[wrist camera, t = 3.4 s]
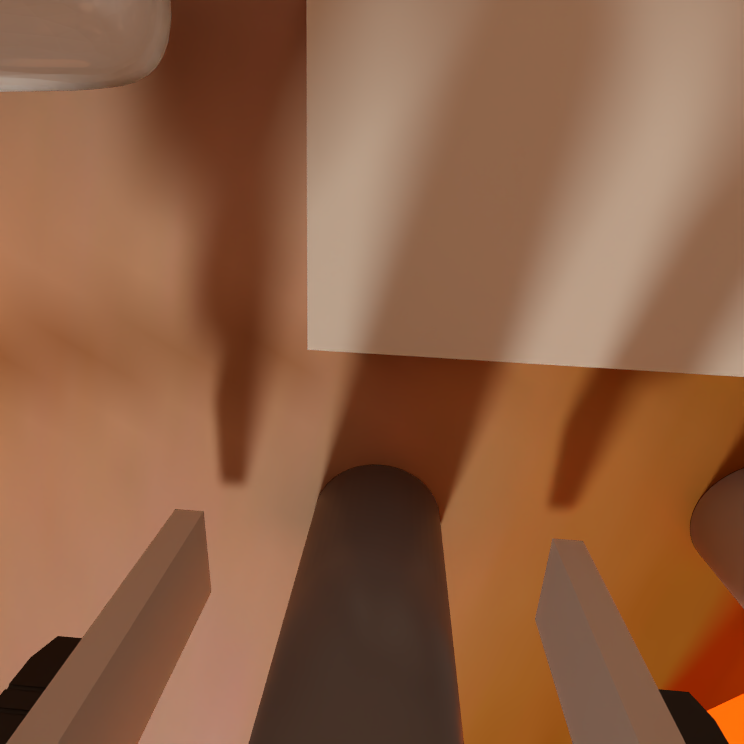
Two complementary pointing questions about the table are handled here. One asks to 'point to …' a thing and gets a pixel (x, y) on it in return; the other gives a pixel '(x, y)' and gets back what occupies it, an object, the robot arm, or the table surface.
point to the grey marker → (722, 531)
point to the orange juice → (731, 719)
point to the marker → (366, 623)
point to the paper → (528, 181)
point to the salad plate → (80, 43)
